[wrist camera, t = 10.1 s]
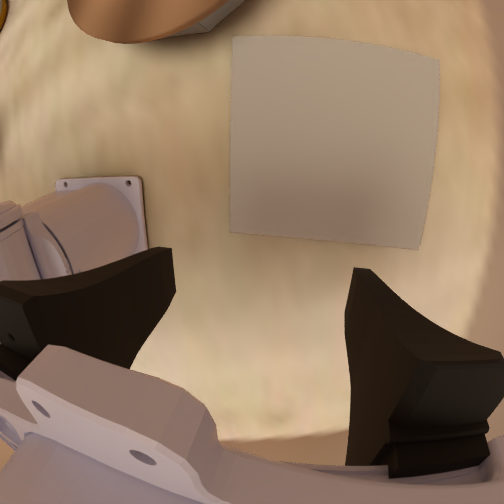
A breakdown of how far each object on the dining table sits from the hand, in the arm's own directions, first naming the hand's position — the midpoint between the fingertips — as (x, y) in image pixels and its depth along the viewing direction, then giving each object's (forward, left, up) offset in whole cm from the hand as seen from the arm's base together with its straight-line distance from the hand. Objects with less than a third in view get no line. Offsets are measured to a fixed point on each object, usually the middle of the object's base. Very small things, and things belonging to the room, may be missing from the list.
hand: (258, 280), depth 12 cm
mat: (+3, +5, -10) cm, 12 cm away
